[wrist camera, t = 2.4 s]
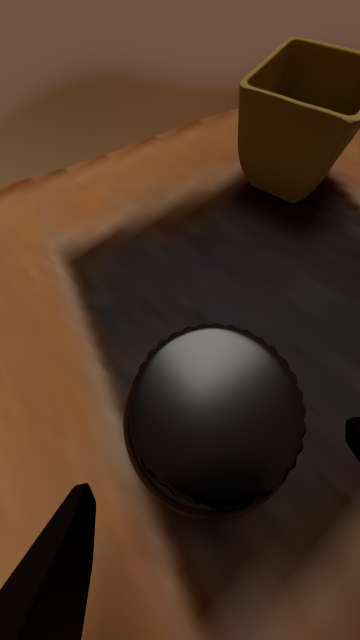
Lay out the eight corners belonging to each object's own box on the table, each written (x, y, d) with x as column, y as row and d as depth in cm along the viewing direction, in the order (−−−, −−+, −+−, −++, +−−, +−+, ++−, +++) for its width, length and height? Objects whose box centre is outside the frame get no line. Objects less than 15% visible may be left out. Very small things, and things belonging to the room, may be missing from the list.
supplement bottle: (132, 417, 18) (43, 377, 8) (208, 357, 20) (224, 253, 9) (195, 513, 16) (196, 659, 5) (277, 437, 17) (411, 423, 7)
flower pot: (342, 172, 28) (404, 58, 19) (305, 226, 25) (359, 119, 17) (265, 145, 30) (291, 33, 22) (224, 191, 27) (236, 83, 19)
